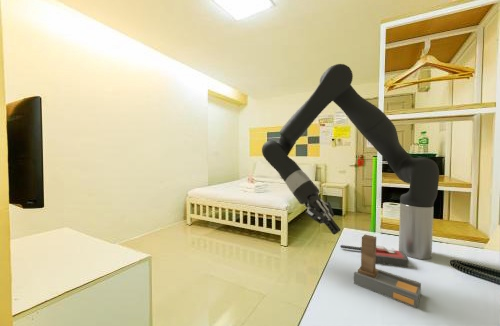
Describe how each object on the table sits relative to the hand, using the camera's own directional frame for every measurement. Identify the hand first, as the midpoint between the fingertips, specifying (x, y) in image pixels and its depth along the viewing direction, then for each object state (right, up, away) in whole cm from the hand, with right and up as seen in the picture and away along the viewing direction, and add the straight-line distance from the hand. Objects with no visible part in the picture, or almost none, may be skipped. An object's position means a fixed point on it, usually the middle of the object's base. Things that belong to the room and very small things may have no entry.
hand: (337, 232), depth 65 cm
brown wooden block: (+6, -9, -6) cm, 12 cm away
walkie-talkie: (+15, -12, +9) cm, 21 cm away
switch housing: (+9, -12, -8) cm, 17 cm away
